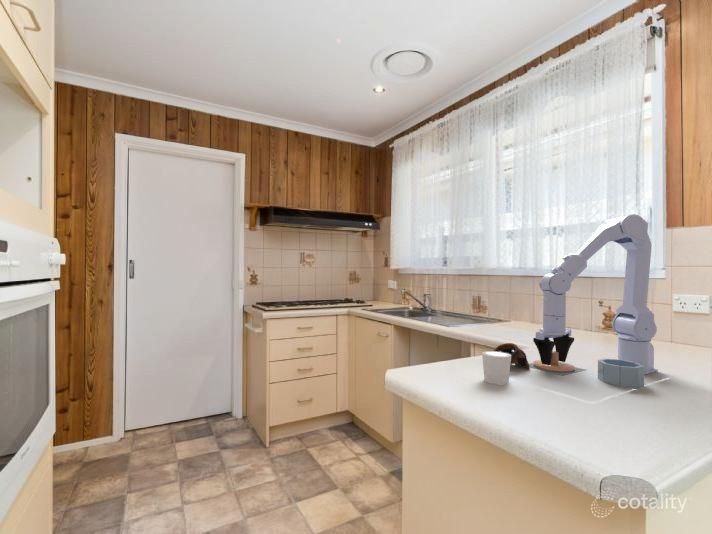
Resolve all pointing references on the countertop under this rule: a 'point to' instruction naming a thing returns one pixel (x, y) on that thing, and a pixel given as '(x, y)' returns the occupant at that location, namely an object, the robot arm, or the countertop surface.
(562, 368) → the lid
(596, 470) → the countertop surface
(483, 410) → the countertop surface
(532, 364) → the mat
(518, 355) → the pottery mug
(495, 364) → the white tapered cylinder
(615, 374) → the grey octagonal bowl
